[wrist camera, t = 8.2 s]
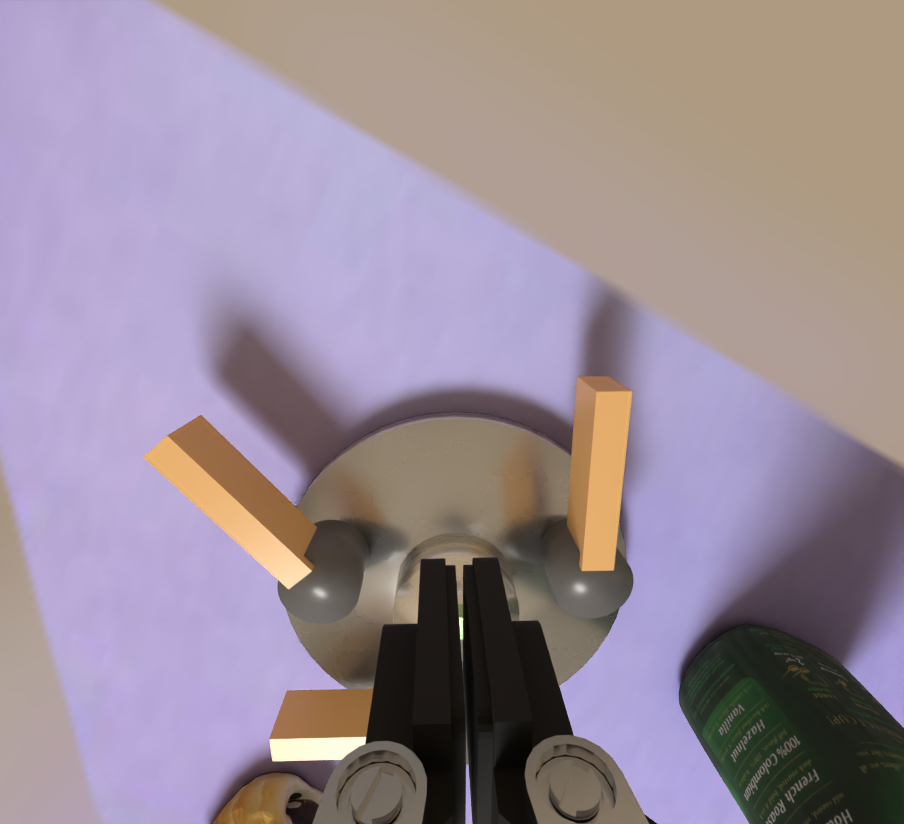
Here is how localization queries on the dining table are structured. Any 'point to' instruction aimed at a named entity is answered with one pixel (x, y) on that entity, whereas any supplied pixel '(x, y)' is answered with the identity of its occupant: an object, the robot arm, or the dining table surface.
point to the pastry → (272, 801)
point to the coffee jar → (794, 732)
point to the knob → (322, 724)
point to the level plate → (446, 531)
